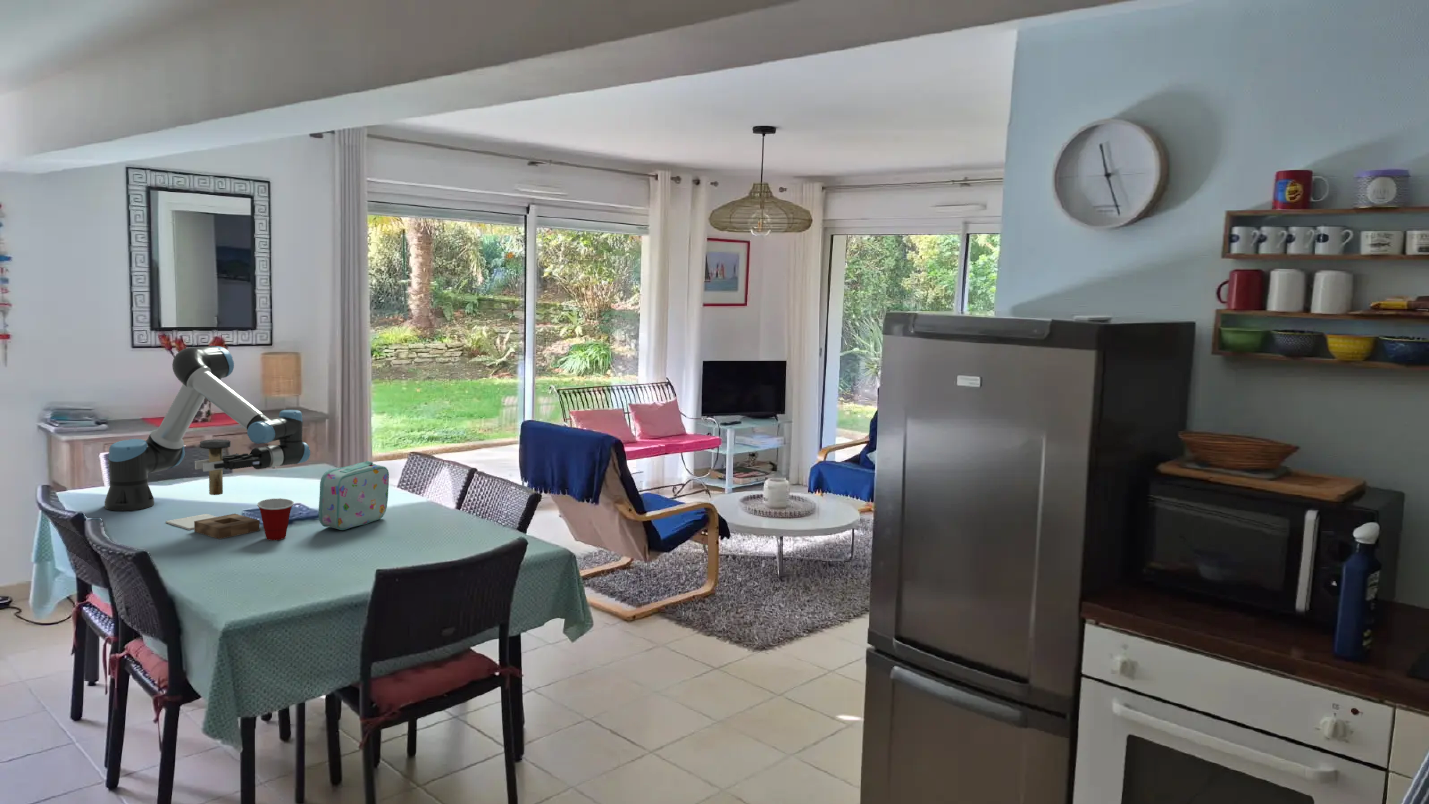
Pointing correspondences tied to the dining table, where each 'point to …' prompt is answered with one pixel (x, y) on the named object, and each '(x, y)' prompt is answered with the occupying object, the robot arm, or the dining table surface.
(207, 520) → the eye block
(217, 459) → the mushroom top post
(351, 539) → the dining table surface
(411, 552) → the dining table surface
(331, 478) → the lunch box
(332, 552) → the dining table surface
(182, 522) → the pad
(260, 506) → the plastic cup
